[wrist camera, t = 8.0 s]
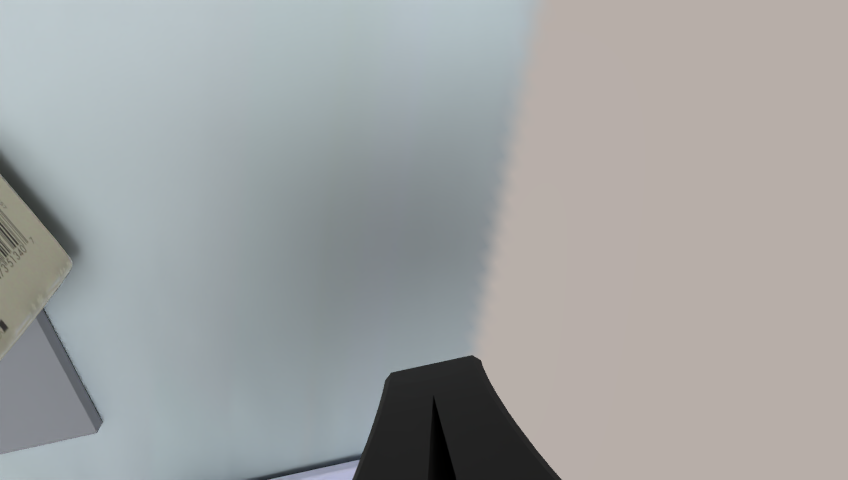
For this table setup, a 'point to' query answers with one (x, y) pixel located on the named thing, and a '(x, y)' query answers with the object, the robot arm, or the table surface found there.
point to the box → (25, 266)
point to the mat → (41, 392)
